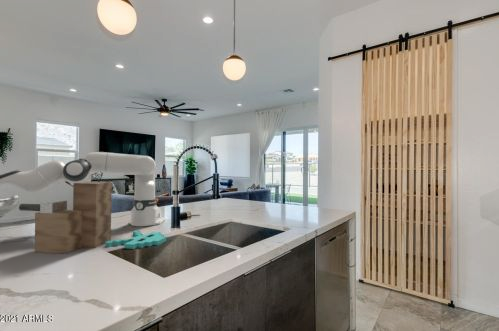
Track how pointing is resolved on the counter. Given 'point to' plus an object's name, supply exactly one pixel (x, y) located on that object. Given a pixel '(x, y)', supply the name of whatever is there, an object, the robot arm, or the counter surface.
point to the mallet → (46, 206)
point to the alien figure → (139, 240)
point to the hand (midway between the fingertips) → (4, 198)
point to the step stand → (77, 221)
